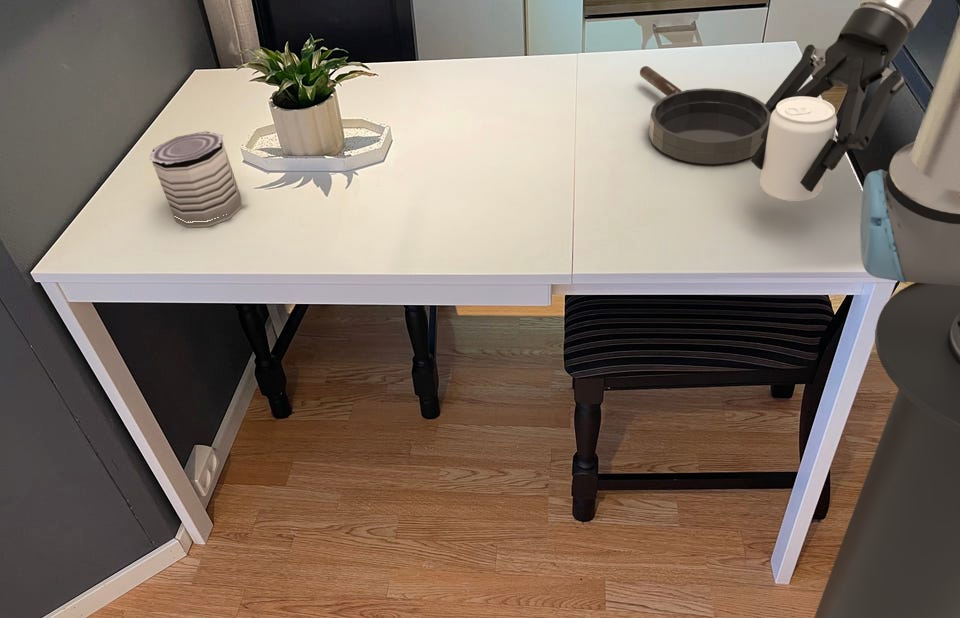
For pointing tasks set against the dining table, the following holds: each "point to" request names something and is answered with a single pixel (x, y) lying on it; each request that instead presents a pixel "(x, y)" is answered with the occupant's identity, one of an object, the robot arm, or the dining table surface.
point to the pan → (708, 125)
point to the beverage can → (796, 146)
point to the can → (197, 179)
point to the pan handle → (658, 81)
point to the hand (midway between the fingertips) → (780, 175)
